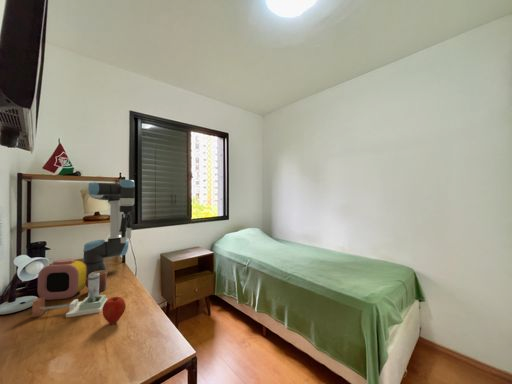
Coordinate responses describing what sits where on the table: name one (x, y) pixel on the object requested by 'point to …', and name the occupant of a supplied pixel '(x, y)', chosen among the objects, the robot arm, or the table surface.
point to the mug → (100, 280)
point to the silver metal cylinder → (93, 287)
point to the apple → (114, 309)
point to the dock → (86, 307)
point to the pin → (43, 307)
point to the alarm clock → (62, 279)
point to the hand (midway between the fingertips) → (126, 240)
